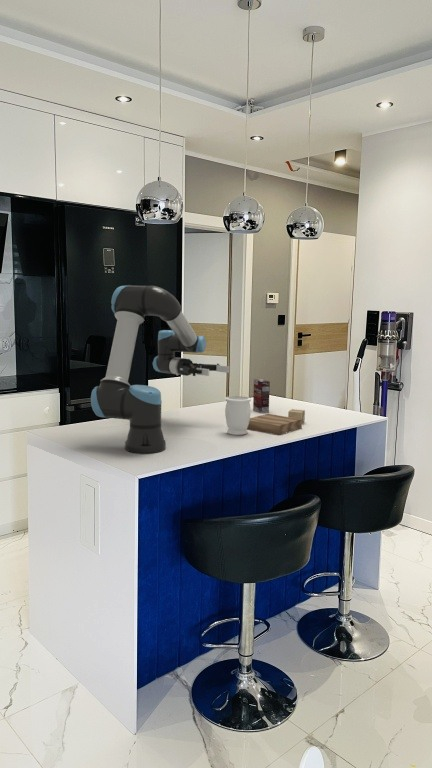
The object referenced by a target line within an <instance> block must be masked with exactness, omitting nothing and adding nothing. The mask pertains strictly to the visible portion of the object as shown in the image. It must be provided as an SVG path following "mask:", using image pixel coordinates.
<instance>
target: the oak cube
mask: <svg viewBox="0 0 432 768" xmlns="http://www.w3.org/2000/svg"><path fill="white" fill-rule="evenodd" d="M305 415H306V411H305V409H297V408H296V409H295V408H291V409H290V410H288V415H287V417H291V418H297V419H302V425H304V424H305V423H306V422H305V419H306V416H305ZM303 423H304V424H303Z"/></svg>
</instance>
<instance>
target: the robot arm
mask: <svg viewBox="0 0 432 768" xmlns="http://www.w3.org/2000/svg"><path fill="white" fill-rule="evenodd" d="M110 304H111V311H112V312H113V314H114V317H115V319H116V320H117V321H116V325H115V331H114V334H113V339H112V345H111V350H110V353H109V354H110V355H109V359H108V362H107V363H108V364H107V367H106V368H107V369H106V373H105V377H103V378H102V379H100V383H99V385H97V386H95V387H93V389H92V390H91V395H90V404H91V405H90V406H91V408H92V409H91V410H92V411H93V412H94V414H95V415H96V416H97V417H100V418H103V419H104V418H105V419H114V420H115V419H116V420H117V419H118V420H127V421H128V420H129V430H128V433H127V437H126V440H125V441H124V449H125V451H127V452H130V453H133V454H135V453H136V454H153V453H159V452H163V451H165V450H166V448H167V447H166V445H167V444H166V440H165V437H164V434H163V429H162V393H161V391H160V390H159V389H158V388H156V387H155V386H151V385H144V384H132V385H131V384H130V383H129V378H130V373H131V368H132V364H133V363H132V362H133V358H134V353H135V352H134V351H135V347H136V343H137V342H136V341H137V339H138V338H137V337H138V331H139V327H140V325H141V324H143V323H144V321H145V316H148V317H149V316H150V317H151V316H153V317H159V318H160V319H161V320H162V321H164V322H166V324H167V325H168V326H169V328H170V330H168V329H167V330H166V329H163V330H159V331H158V335H157V353H158V354H157V356H155V357H154V358H153V361H152V366H153V370H155V372H158V373H162V374H171V375H172V374H173V375H176V376H177V377H178V376H179V375H181V376H185V377H187V376H191V375H192V376H193V377H196V375H198V376H199V375H200V376H205V377H207V376H208V377H209V376H210V372H212V371H214V372H218V373H219V372H220V373H226V374H227V373H228V374H229V373H230V366H228V365H226V366H225V365H221V364H219V363H216V364H215V363H214V364H210V363H197V362H194V363H193V360H192V359H190V358H185V357H184V358H183V357H175V356H176V355H175V354H176V353H175V352H179V353H192V354H193V353H194V354H195V353H196V354H198V353H201V354H203V353H204V352H205V351H206V348H207V340H206V338H205V336H203V335H198V334H196V332H195V331H194V329H193V327H192V326H191V324H190V323H189V321H188V319H187V317H186V316H185V315H184V313H183V312H182V306H181V304H180V302H179V301H178V299H177V298H176V297H175V296H174V295H173V294H172V293H170V292H169V291H167V290H166V289H164V288H162V287H159V286H156V285H131V284H127V285H121V286H118V287H117V288H116V289H115V290H114V292H113V294H112V296H111V303H110Z"/></svg>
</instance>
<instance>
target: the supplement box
mask: <svg viewBox="0 0 432 768" xmlns="http://www.w3.org/2000/svg"><path fill="white" fill-rule="evenodd" d="M270 383H271V381H269V380H266V379H263V378H255V379H253V397H252V398H253V404H252V410H253V411H255V412H257V413H260V414H270V413H269V412H270V387H271V386H270V385H271V384H270Z"/></svg>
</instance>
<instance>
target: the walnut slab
mask: <svg viewBox="0 0 432 768" xmlns="http://www.w3.org/2000/svg"><path fill="white" fill-rule="evenodd" d="M302 426H303V424H302V419H297V418H291V417H288V416H284V415H278V414H271V413H264V414H261V415H257V416H254V417H250V420H249V425H248V427H247V429H246V430H250V431H255V432H256V431H257V432H260V433H261V432H262V433H265V434H271V433H272V434H271V435H276V434H277V435H278V436H280V435H283V434H287V433H290V432H289V431H291V432H293V430H294V431H297V430H300V429H302V428H303V427H302ZM296 429H297V430H296ZM286 432H287V433H286Z"/></svg>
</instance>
